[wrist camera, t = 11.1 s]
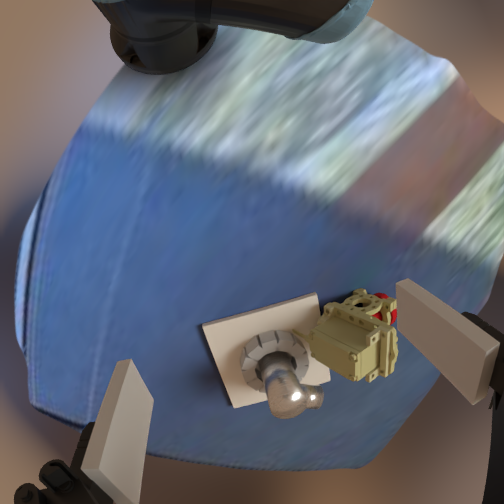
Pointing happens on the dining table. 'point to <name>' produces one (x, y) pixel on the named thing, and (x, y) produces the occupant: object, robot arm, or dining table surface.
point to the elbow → (287, 387)
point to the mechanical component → (356, 336)
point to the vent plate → (255, 324)
